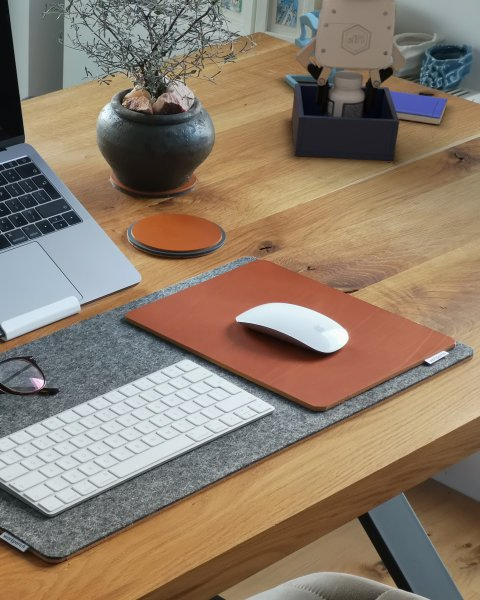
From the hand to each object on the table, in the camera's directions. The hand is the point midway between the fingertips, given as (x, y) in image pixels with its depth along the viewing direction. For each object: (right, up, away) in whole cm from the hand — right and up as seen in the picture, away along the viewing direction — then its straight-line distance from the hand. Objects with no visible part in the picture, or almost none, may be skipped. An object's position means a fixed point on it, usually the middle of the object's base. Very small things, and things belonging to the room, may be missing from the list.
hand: (344, 109), depth 157 cm
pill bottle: (0, -4, +2) cm, 4 cm away
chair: (+1, +7, +21) cm, 23 cm away
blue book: (+12, +2, +12) cm, 17 cm away
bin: (0, -4, +2) cm, 5 cm away
